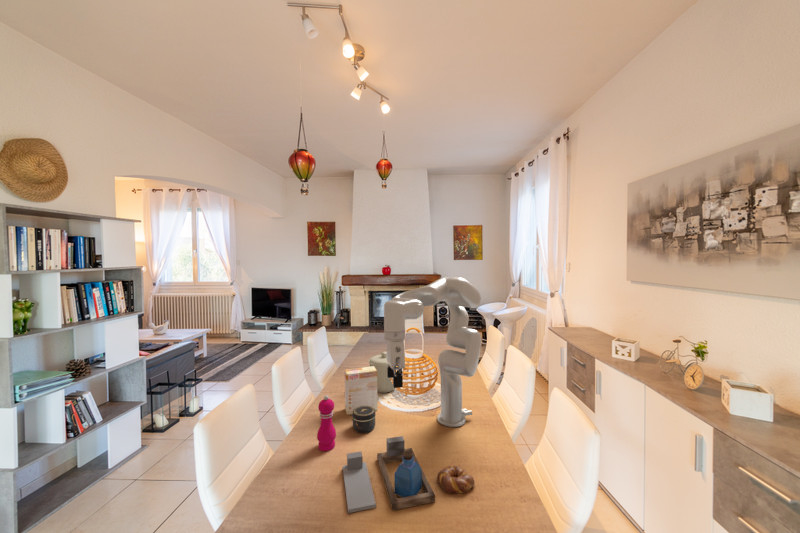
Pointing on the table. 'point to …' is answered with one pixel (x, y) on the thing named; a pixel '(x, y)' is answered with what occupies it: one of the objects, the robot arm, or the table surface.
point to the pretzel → (455, 480)
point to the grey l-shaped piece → (357, 484)
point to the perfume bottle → (408, 476)
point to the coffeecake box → (360, 388)
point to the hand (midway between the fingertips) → (394, 382)
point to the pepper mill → (326, 425)
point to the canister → (381, 372)
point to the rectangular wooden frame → (393, 454)
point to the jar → (363, 419)
